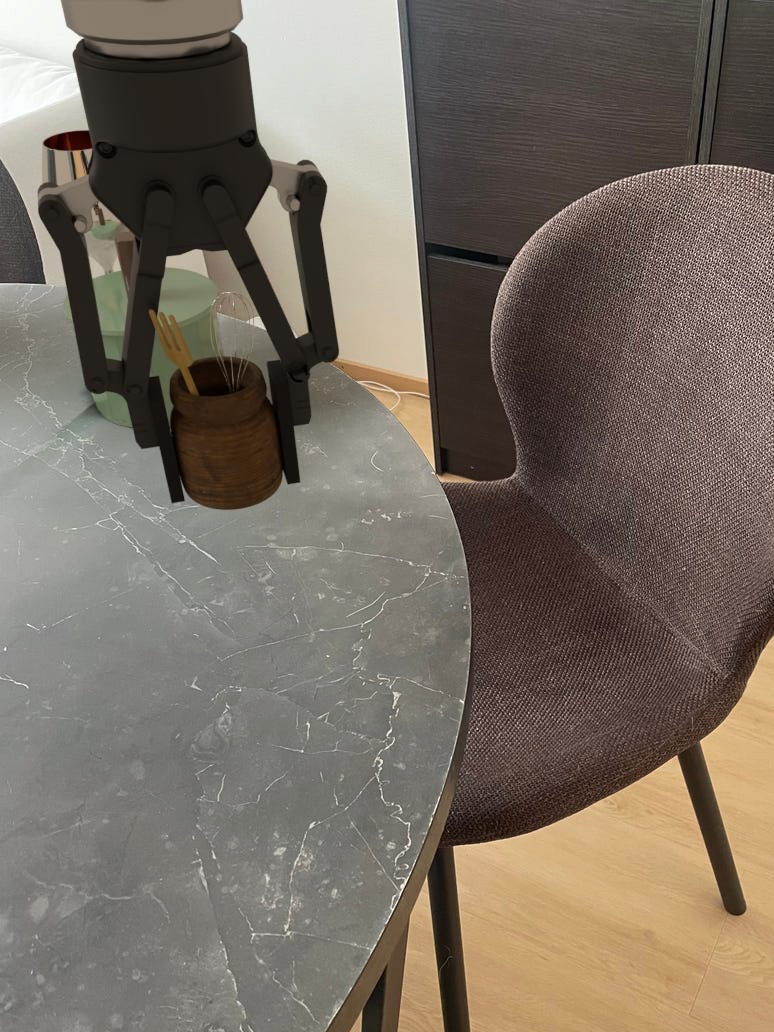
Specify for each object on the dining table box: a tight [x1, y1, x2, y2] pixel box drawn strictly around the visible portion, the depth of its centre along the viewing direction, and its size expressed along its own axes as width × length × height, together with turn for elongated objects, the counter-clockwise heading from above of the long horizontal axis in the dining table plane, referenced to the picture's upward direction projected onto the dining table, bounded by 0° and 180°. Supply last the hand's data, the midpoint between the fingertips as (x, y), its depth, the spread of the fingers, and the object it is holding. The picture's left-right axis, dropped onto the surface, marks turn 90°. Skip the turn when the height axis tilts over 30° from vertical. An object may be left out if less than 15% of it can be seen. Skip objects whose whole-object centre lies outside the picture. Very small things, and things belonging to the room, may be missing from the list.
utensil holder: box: [149, 291, 284, 511], centre depth 57 cm, size 6×6×12 cm
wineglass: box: [41, 129, 130, 275], centre depth 93 cm, size 8×8×18 cm
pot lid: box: [62, 231, 220, 336], centre depth 84 cm, size 12×12×6 cm
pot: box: [72, 308, 225, 429], centre depth 89 cm, size 11×11×8 cm
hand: (233, 479), depth 61 cm, fingers closed on utensil holder, 6 cm apart
